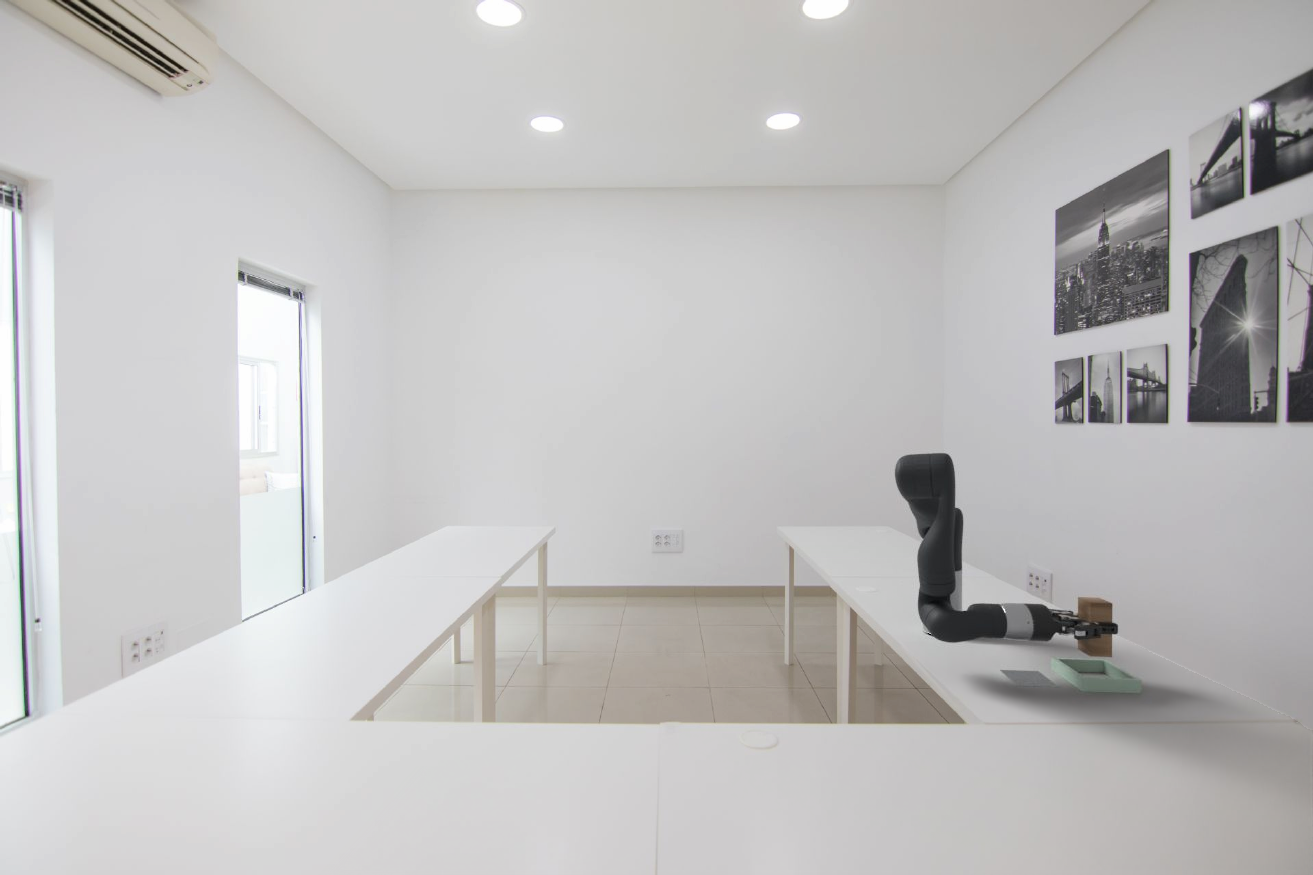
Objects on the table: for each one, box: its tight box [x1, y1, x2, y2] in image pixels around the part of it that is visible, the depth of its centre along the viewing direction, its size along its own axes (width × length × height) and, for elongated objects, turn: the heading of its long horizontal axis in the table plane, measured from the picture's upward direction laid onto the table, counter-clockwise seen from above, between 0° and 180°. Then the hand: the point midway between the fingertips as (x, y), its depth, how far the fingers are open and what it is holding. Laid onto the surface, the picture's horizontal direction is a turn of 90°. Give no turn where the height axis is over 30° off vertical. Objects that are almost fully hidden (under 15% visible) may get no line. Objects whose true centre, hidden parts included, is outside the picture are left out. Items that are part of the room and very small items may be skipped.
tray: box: [1050, 657, 1142, 694], centre depth 124 cm, size 11×11×4 cm
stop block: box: [1077, 596, 1113, 658], centre depth 124 cm, size 4×4×11 cm
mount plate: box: [999, 669, 1060, 688], centre depth 125 cm, size 8×8×1 cm
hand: (1108, 624), depth 124 cm, fingers closed on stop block, 4 cm apart
